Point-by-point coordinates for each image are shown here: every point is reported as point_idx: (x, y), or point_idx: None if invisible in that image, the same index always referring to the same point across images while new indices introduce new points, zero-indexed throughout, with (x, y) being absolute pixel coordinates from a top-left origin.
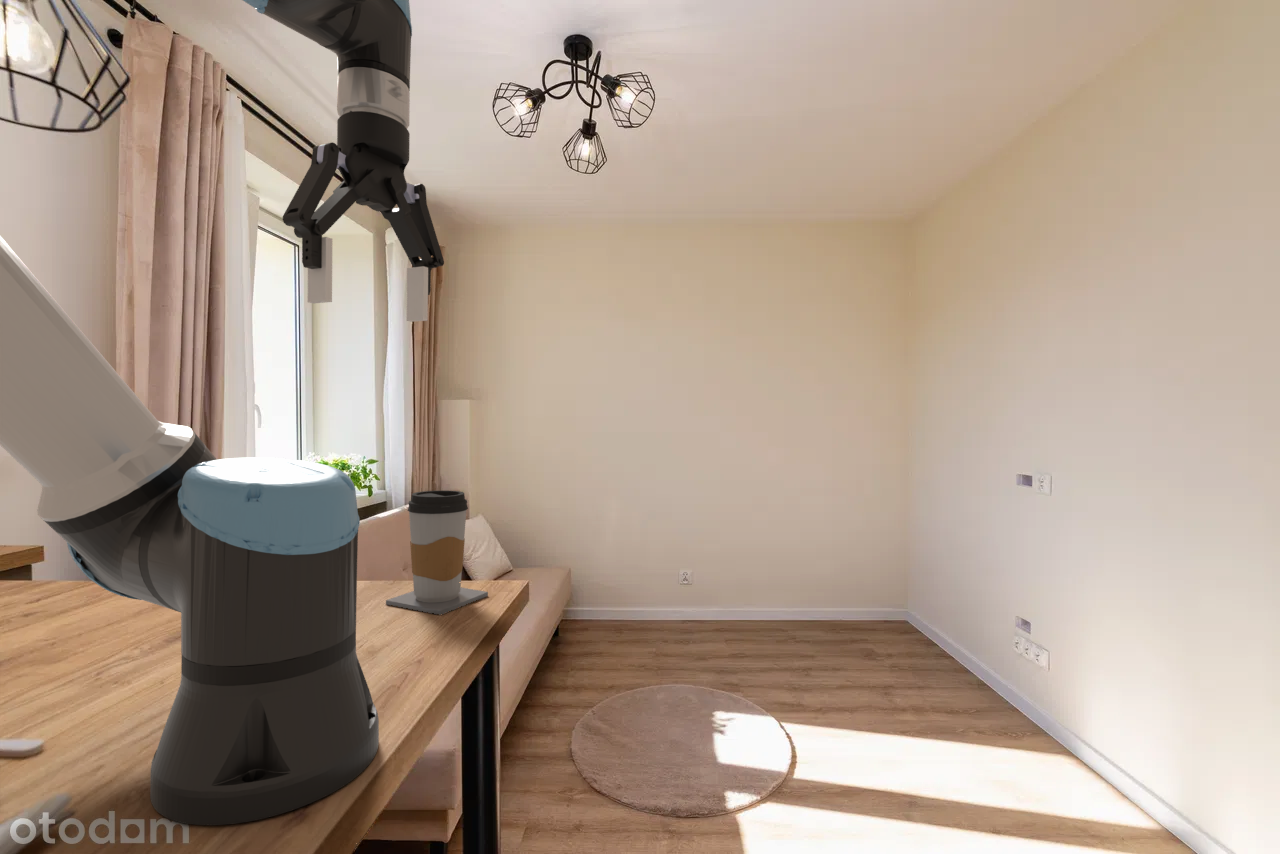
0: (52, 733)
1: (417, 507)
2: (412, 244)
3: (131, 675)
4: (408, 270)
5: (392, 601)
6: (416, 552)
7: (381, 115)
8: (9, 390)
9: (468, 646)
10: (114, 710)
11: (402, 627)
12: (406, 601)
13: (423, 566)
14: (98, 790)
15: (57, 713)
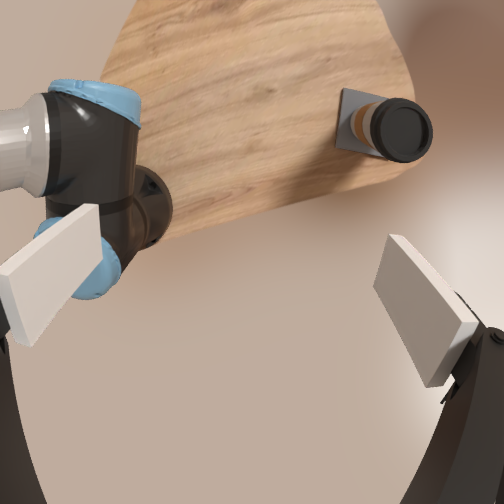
0: None
1: (373, 123)
2: (439, 435)
3: (163, 45)
4: (453, 323)
5: (343, 95)
6: (360, 117)
7: None
8: None
9: (283, 204)
10: (131, 87)
11: (300, 136)
12: (347, 106)
13: (356, 125)
14: None
15: (120, 66)
